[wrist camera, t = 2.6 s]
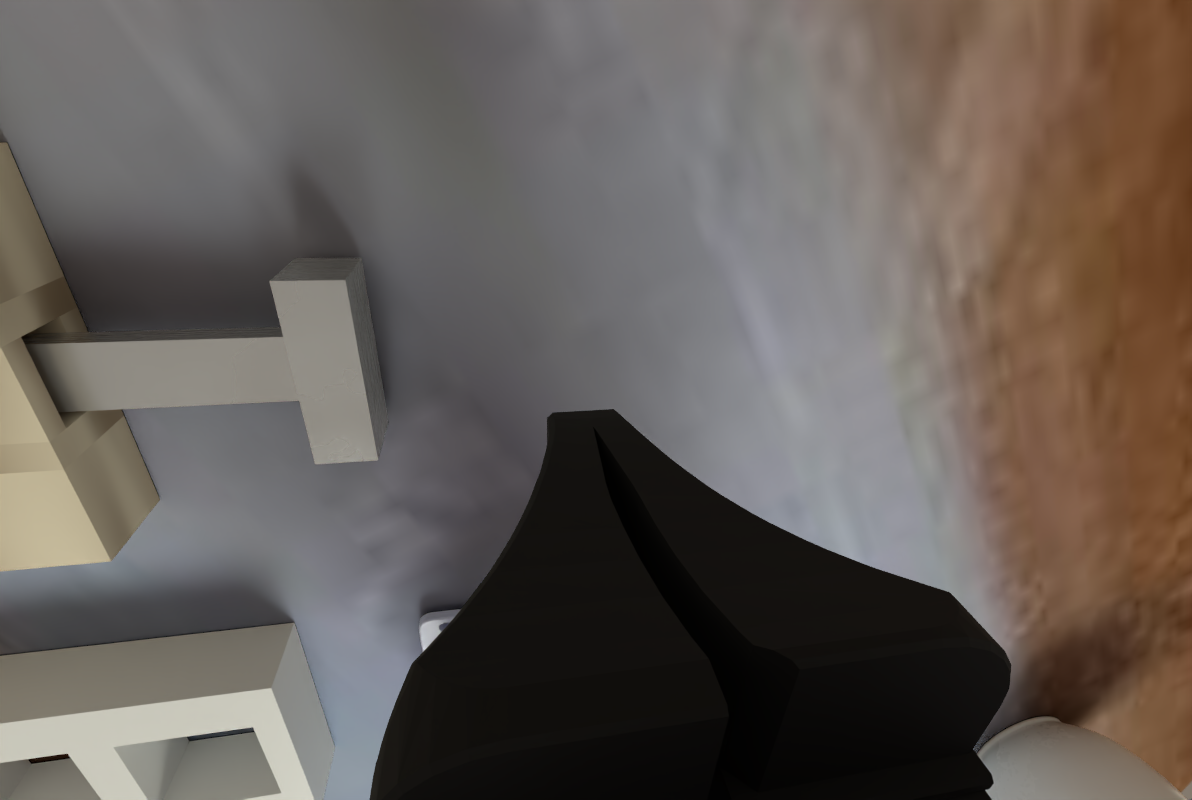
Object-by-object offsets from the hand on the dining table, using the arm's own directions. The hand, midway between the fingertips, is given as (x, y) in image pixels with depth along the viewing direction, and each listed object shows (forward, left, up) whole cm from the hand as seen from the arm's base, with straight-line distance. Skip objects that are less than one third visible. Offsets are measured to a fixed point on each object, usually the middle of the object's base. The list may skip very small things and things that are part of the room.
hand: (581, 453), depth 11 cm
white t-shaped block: (+9, 0, -6) cm, 11 cm away
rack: (+18, +15, -6) cm, 24 cm away
